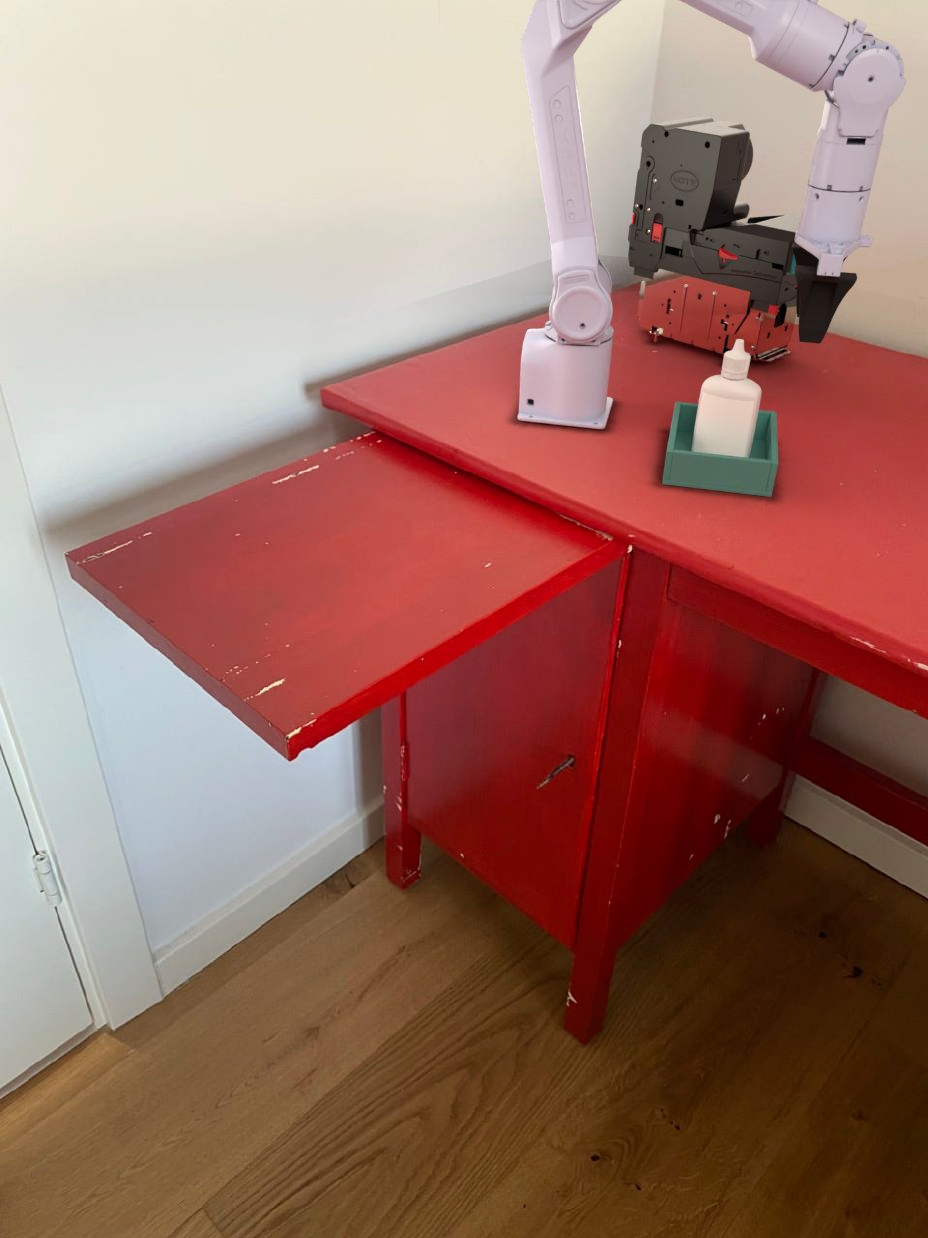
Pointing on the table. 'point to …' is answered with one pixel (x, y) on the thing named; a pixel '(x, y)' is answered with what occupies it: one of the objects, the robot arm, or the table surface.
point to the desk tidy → (721, 457)
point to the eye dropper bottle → (728, 408)
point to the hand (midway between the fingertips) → (808, 328)
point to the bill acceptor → (709, 243)
